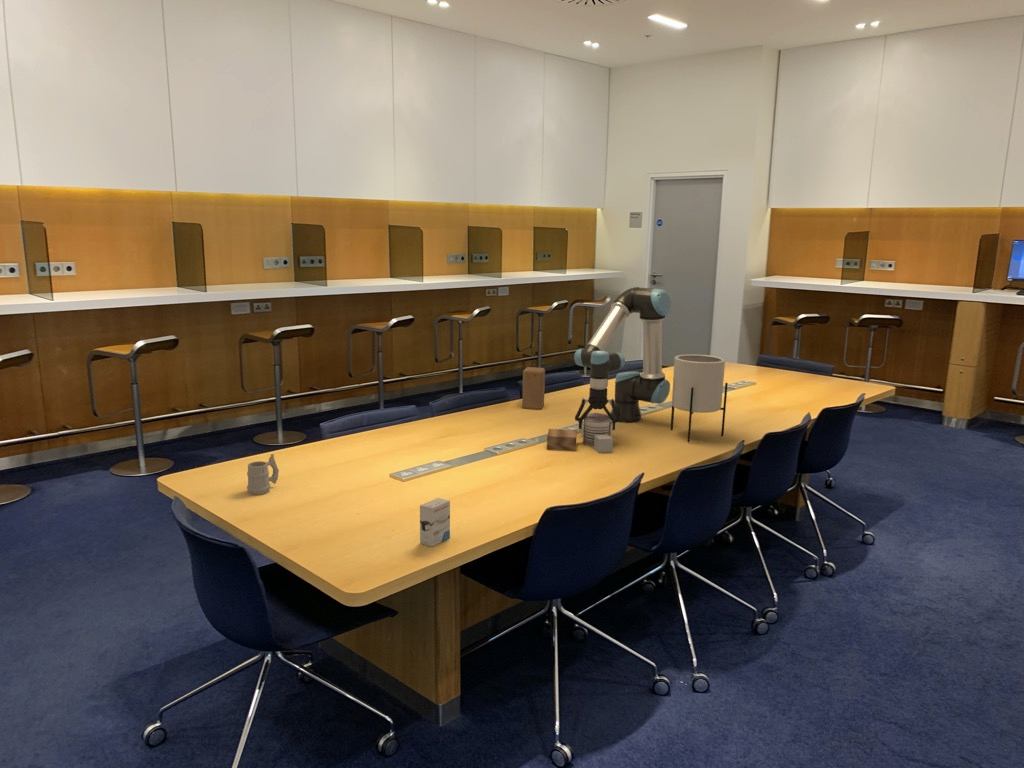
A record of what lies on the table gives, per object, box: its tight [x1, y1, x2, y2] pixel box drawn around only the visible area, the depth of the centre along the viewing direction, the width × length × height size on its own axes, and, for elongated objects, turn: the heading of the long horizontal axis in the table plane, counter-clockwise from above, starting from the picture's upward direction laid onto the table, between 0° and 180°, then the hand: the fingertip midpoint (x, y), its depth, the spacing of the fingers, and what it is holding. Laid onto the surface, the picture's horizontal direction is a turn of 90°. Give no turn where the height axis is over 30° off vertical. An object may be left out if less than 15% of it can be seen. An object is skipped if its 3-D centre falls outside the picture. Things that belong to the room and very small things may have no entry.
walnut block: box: [546, 428, 578, 452], centre depth 323 cm, size 12×12×6 cm
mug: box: [246, 453, 279, 496], centre depth 262 cm, size 8×12×12 cm, turn 143°
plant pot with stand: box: [670, 353, 728, 442], centre depth 339 cm, size 24×24×36 cm
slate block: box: [593, 435, 614, 454], centre depth 318 cm, size 6×6×6 cm
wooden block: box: [521, 366, 546, 410], centre depth 390 cm, size 10×10×20 cm
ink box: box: [419, 497, 451, 548], centre depth 223 cm, size 8×5×12 cm, turn 145°
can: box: [582, 412, 611, 447], centre depth 328 cm, size 11×11×12 cm
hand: (596, 436), depth 328 cm, fingers open, 12 cm apart
